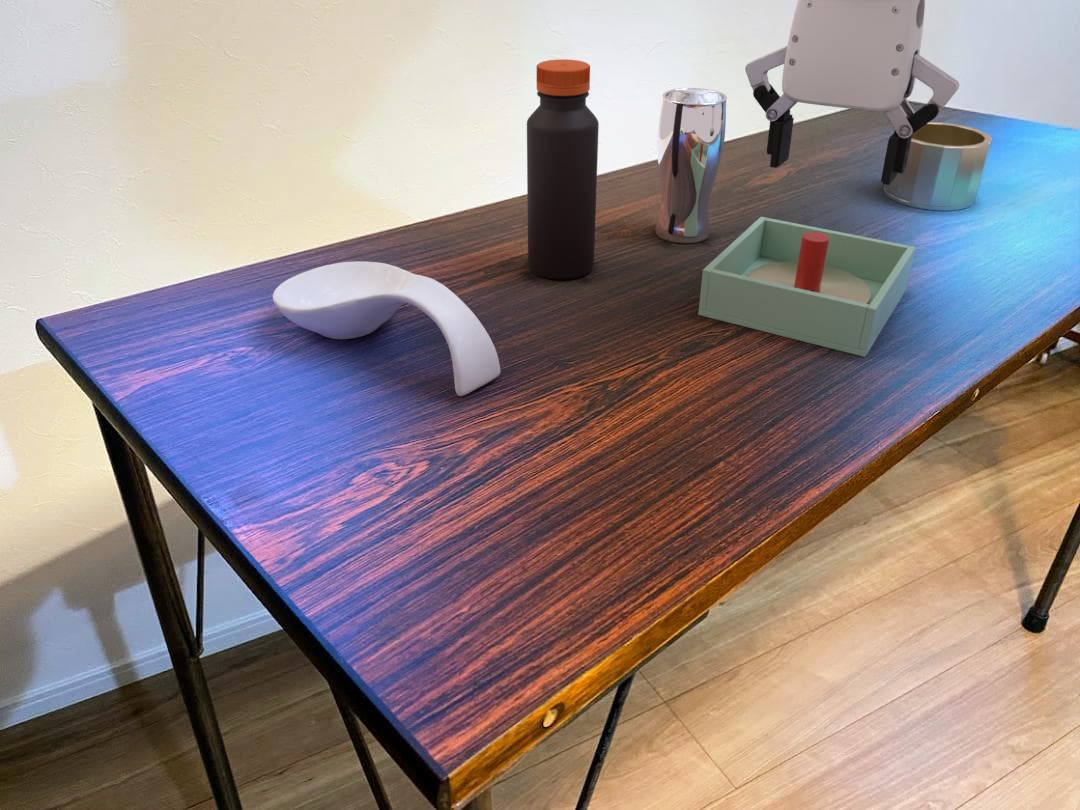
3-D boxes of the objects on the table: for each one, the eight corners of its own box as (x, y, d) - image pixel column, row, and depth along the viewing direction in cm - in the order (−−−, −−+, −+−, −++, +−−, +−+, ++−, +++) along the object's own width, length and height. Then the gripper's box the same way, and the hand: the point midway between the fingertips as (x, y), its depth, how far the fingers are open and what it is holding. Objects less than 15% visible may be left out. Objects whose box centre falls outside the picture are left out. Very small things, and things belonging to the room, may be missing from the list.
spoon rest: (252, 326, 82) (238, 252, 79) (353, 284, 90) (345, 215, 86) (432, 420, 69) (425, 337, 66) (533, 362, 77) (532, 285, 73)
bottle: (606, 265, 94) (615, 63, 83) (566, 287, 89) (569, 77, 78) (555, 249, 97) (557, 53, 86) (514, 269, 93) (510, 66, 82)
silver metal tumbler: (711, 222, 104) (726, 88, 96) (715, 246, 98) (731, 105, 90) (650, 220, 104) (660, 86, 96) (651, 244, 98) (661, 103, 90)
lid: (882, 287, 88) (895, 228, 84) (850, 336, 79) (863, 272, 76) (767, 262, 93) (775, 205, 90) (725, 306, 84) (732, 245, 81)
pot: (981, 190, 113) (998, 129, 109) (966, 216, 105) (983, 153, 101) (894, 175, 117) (907, 117, 113) (874, 200, 110) (886, 138, 106)
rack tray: (905, 290, 89) (916, 246, 86) (865, 357, 78) (876, 309, 75) (755, 257, 95) (760, 216, 93) (697, 315, 84) (702, 269, 82)
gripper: (994, -46, 69) (944, 174, 78) (774, -54, 77) (752, 147, 86) (977, -34, 64) (926, 200, 73) (742, -44, 71) (723, 169, 81)
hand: (832, 171), depth 79 cm, fingers open, 9 cm apart
